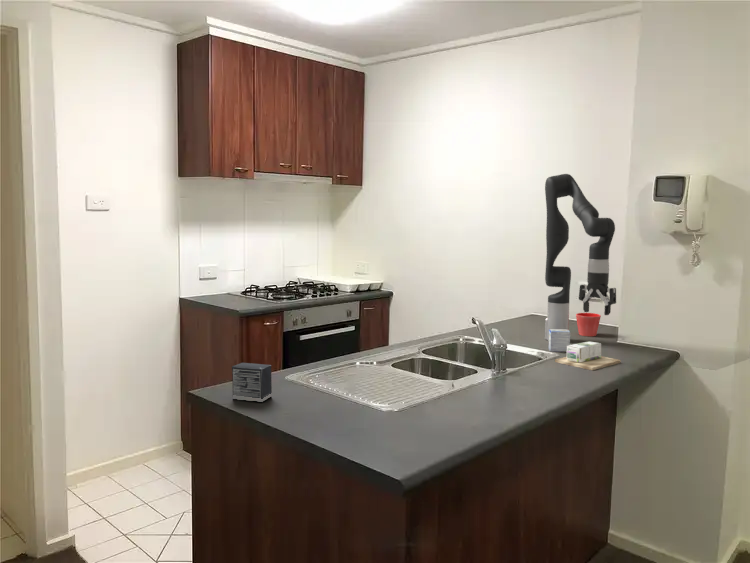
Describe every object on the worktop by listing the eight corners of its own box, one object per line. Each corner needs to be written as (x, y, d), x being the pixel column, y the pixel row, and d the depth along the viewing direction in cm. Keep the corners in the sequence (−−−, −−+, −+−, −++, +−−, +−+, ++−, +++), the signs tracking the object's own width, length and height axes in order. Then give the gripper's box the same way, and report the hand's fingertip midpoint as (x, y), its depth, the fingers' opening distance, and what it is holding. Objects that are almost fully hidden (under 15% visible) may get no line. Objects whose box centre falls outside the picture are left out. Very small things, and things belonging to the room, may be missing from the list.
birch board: (554, 362, 236) (555, 359, 236) (583, 355, 247) (583, 352, 247) (592, 370, 223) (592, 367, 223) (620, 362, 235) (620, 360, 235)
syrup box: (588, 355, 243) (566, 361, 234) (588, 340, 242) (566, 345, 233) (601, 357, 238) (579, 363, 229) (601, 342, 238) (579, 347, 229)
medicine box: (567, 349, 257) (568, 329, 256) (569, 352, 253) (570, 331, 252) (548, 349, 258) (548, 328, 257) (550, 351, 254) (550, 330, 253)
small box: (273, 397, 190) (272, 364, 189) (262, 403, 184) (261, 369, 183) (243, 394, 193) (242, 361, 192) (231, 400, 187) (230, 366, 186)
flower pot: (589, 338, 281) (589, 317, 280) (570, 334, 291) (571, 313, 290) (604, 335, 287) (605, 315, 286) (586, 332, 296) (586, 312, 295)
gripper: (575, 270, 235) (574, 312, 237) (610, 273, 224) (608, 317, 226) (587, 268, 240) (585, 310, 242) (621, 271, 229) (619, 314, 231)
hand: (596, 313), depth 234 cm, fingers open, 8 cm apart
